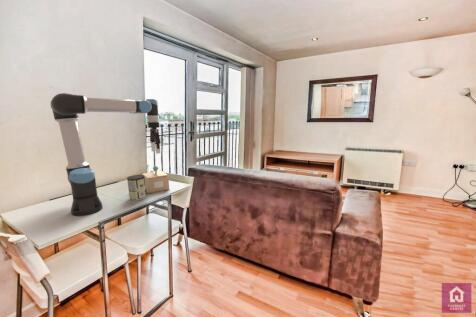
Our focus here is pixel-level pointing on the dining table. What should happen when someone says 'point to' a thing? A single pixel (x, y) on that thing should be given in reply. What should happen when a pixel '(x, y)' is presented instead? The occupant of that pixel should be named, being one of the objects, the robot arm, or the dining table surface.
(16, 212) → the dining table surface
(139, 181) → the coffee can
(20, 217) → the dining table surface
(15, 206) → the dining table surface
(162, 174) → the flap
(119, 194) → the dining table surface
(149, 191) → the carton
